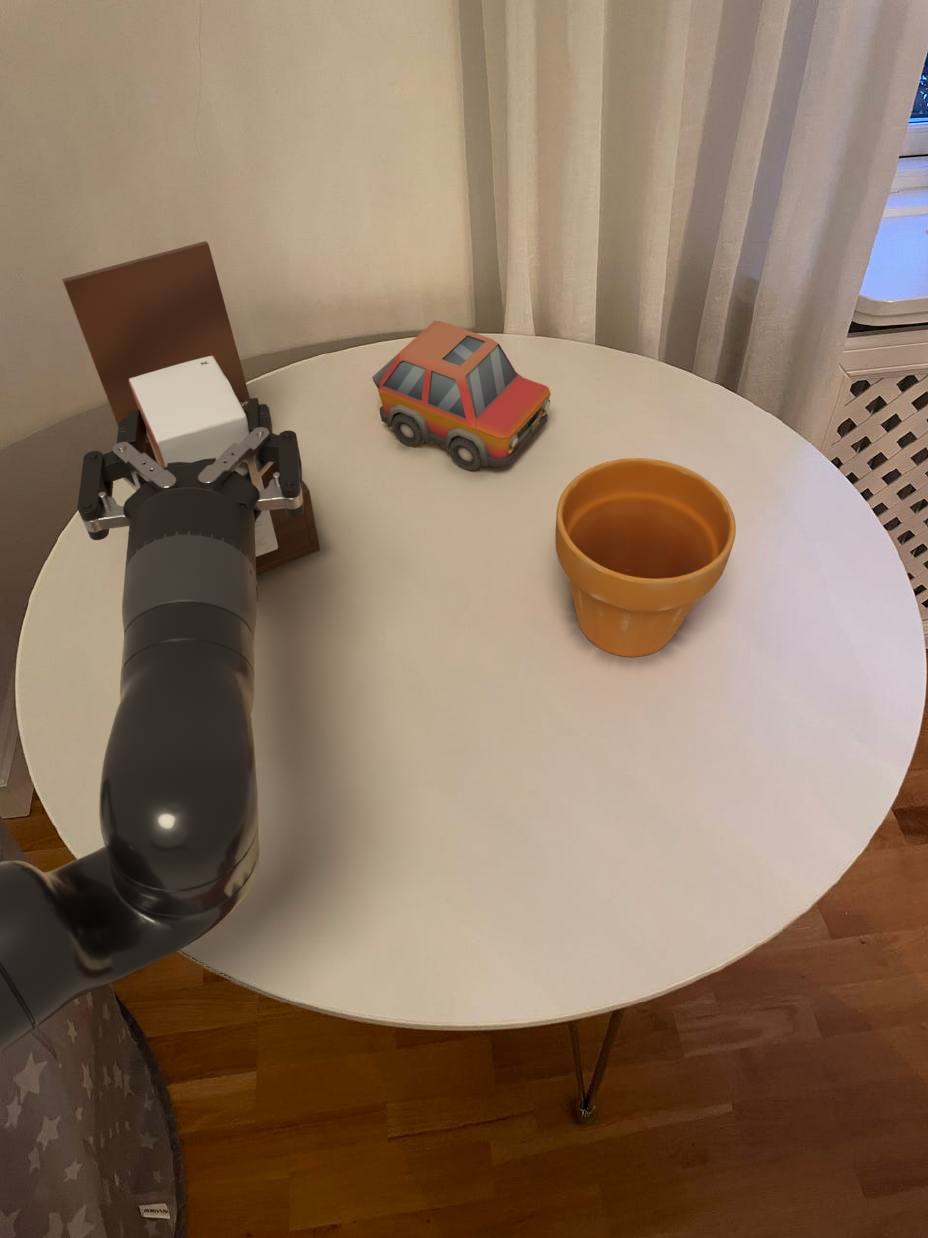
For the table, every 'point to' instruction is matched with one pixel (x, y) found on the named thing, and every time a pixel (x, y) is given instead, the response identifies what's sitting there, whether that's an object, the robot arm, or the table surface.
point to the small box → (195, 421)
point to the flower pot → (640, 549)
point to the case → (282, 525)
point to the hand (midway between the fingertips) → (196, 413)
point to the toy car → (461, 397)
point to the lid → (154, 320)
